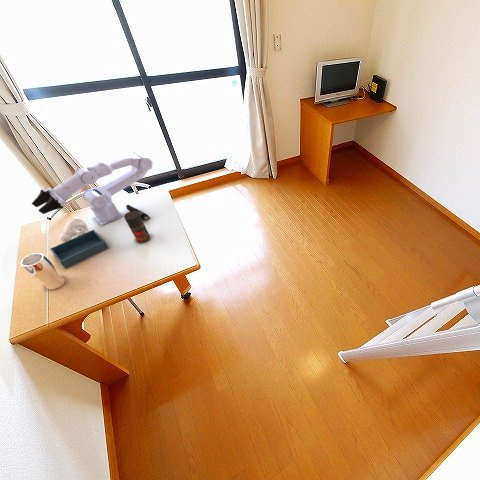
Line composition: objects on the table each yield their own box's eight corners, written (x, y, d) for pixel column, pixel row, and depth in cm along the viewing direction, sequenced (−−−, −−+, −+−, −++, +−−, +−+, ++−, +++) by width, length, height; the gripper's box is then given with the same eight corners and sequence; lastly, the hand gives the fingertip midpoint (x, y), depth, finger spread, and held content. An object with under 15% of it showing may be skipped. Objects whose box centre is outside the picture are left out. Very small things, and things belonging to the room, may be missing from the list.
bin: (98, 236, 133) (93, 229, 130) (108, 247, 129) (104, 241, 126) (55, 255, 123) (49, 248, 120) (65, 268, 119) (59, 262, 116)
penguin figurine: (82, 217, 129) (58, 234, 122) (93, 229, 136) (71, 247, 128) (72, 213, 130) (48, 230, 123) (83, 225, 137) (60, 242, 130)
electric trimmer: (132, 207, 150) (130, 202, 148) (151, 218, 145) (148, 213, 143) (126, 210, 148) (123, 206, 146) (144, 222, 143) (142, 217, 141)
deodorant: (133, 240, 133) (120, 217, 123) (143, 233, 137) (131, 209, 127) (143, 244, 132) (131, 221, 121) (153, 237, 136) (142, 213, 125)
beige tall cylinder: (43, 292, 110) (18, 268, 99) (46, 279, 114) (22, 255, 104) (65, 286, 113) (42, 263, 102) (67, 274, 117) (45, 250, 106)
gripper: (52, 176, 122) (21, 196, 117) (66, 187, 116) (34, 209, 111) (66, 187, 128) (37, 207, 123) (80, 199, 122) (50, 220, 117)
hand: (37, 208), depth 117 cm, fingers open, 7 cm apart
